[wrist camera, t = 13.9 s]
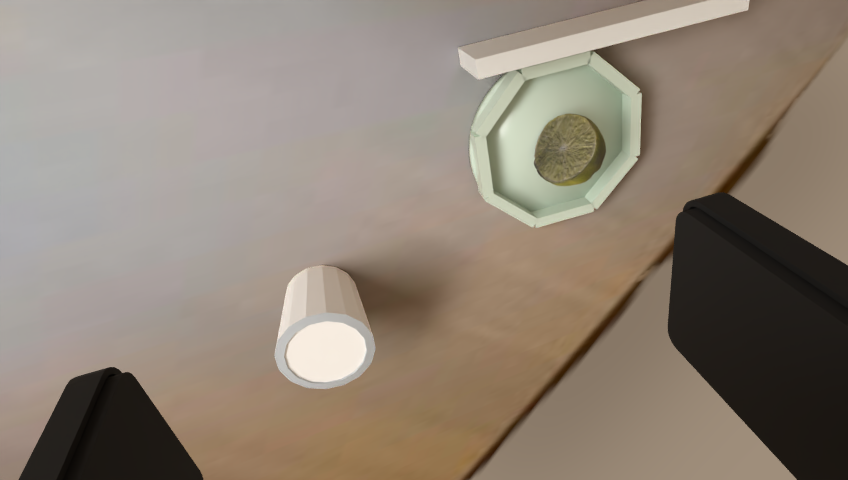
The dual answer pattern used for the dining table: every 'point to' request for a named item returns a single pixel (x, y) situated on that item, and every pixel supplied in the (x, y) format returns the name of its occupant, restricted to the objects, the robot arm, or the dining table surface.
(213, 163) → the dining table surface
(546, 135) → the lime
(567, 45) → the fence
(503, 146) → the dish
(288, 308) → the white cylinder
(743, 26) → the dining table surface
